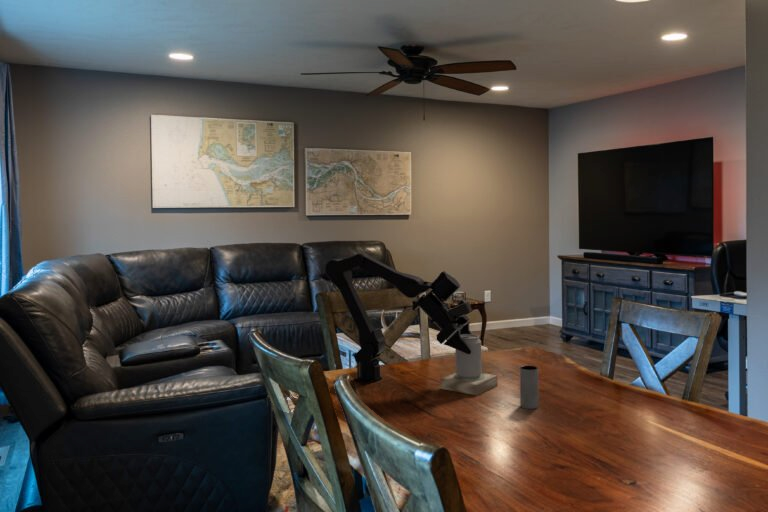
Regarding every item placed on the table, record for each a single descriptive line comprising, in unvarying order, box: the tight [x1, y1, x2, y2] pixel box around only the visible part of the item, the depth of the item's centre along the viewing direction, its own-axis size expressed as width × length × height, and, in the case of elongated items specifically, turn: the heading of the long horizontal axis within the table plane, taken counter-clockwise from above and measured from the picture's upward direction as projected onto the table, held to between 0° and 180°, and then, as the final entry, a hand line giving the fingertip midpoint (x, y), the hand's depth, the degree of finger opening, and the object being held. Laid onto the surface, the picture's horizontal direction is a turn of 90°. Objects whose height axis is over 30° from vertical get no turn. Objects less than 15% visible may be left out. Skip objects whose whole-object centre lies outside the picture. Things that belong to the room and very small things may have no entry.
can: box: [455, 333, 483, 379], centre depth 179 cm, size 8×8×12 cm
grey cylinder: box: [519, 365, 539, 410], centre depth 160 cm, size 4×4×10 cm
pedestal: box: [440, 372, 498, 396], centre depth 179 cm, size 12×12×3 cm
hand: (473, 349), depth 178 cm, fingers open, 9 cm apart
